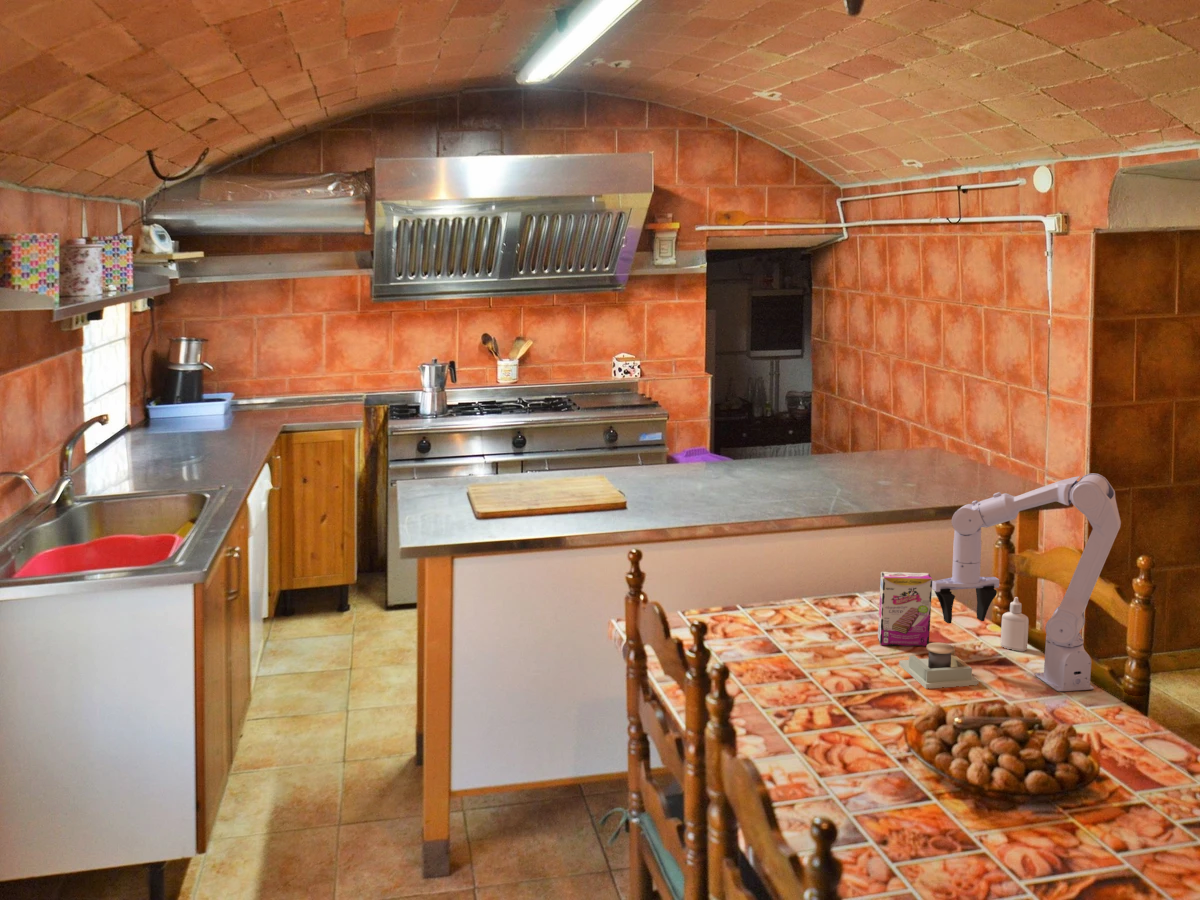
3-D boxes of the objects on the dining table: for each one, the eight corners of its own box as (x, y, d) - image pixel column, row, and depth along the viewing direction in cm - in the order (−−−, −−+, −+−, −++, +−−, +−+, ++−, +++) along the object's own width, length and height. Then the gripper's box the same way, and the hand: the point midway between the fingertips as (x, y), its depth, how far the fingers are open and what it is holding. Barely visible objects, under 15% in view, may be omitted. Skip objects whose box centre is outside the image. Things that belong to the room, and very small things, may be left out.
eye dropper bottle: (1014, 653, 253) (1017, 602, 251) (997, 645, 258) (999, 595, 256) (1030, 650, 254) (1033, 599, 252) (1012, 643, 260) (1015, 592, 257)
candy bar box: (880, 646, 259) (882, 577, 256) (877, 638, 263) (879, 571, 261) (930, 647, 257) (933, 578, 255) (926, 640, 262) (928, 571, 260)
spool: (957, 675, 237) (958, 650, 237) (932, 677, 237) (933, 652, 236) (945, 666, 243) (946, 641, 242) (921, 667, 242) (922, 643, 241)
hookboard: (978, 685, 235) (979, 664, 234) (925, 688, 233) (926, 668, 232) (948, 661, 248) (949, 641, 248) (899, 664, 247) (899, 645, 246)
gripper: (989, 553, 248) (986, 613, 250) (926, 557, 246) (924, 617, 248) (1005, 562, 241) (1002, 623, 243) (941, 566, 239) (938, 627, 241)
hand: (964, 620), depth 245 cm, fingers open, 7 cm apart
